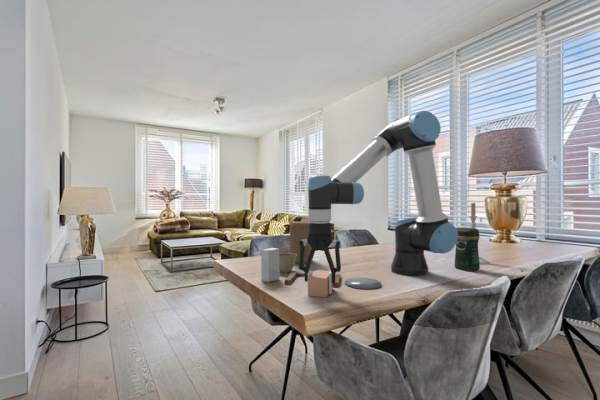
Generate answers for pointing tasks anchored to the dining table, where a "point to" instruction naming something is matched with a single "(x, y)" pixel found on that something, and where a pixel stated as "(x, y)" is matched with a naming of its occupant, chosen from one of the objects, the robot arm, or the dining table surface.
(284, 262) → the flower pot
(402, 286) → the dining table surface
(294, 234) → the wooden block
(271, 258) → the skincare box
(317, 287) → the block
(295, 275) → the rack
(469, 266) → the coffee jar
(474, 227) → the candlestick
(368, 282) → the plate
